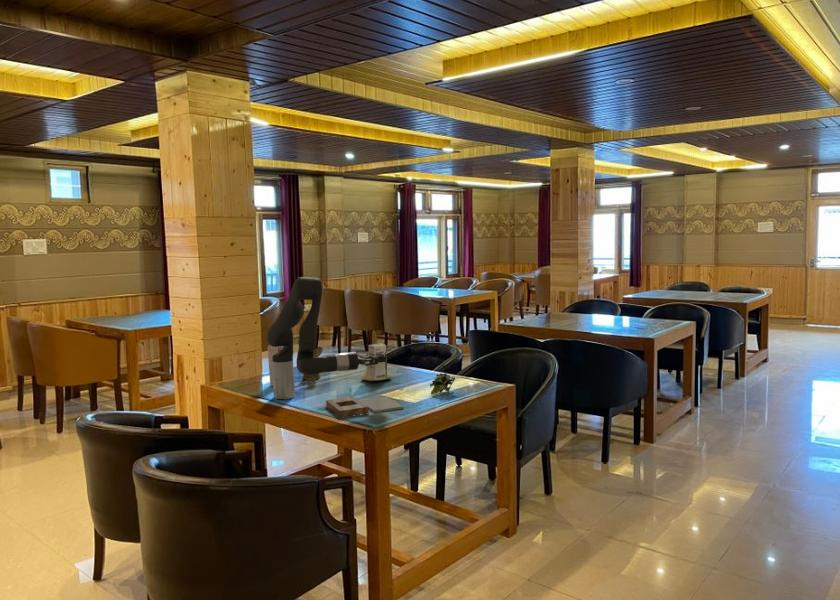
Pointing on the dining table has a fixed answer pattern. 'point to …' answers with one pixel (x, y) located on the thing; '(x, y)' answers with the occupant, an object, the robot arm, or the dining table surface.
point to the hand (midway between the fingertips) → (382, 357)
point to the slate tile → (381, 404)
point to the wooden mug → (316, 354)
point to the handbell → (367, 373)
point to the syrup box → (381, 368)
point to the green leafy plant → (442, 383)
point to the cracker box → (271, 352)
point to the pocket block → (346, 406)
